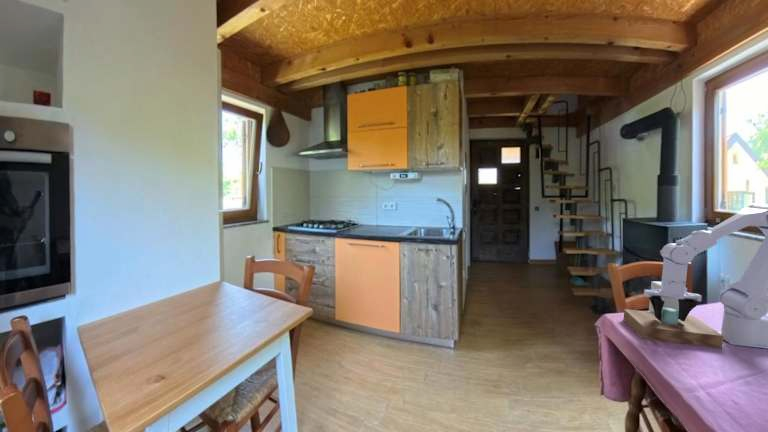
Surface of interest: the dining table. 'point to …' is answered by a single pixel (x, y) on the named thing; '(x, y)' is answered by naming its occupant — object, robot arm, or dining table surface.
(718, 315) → the dining table surface
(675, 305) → the supplement box
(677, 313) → the peg
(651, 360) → the dining table surface
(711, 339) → the socket block
